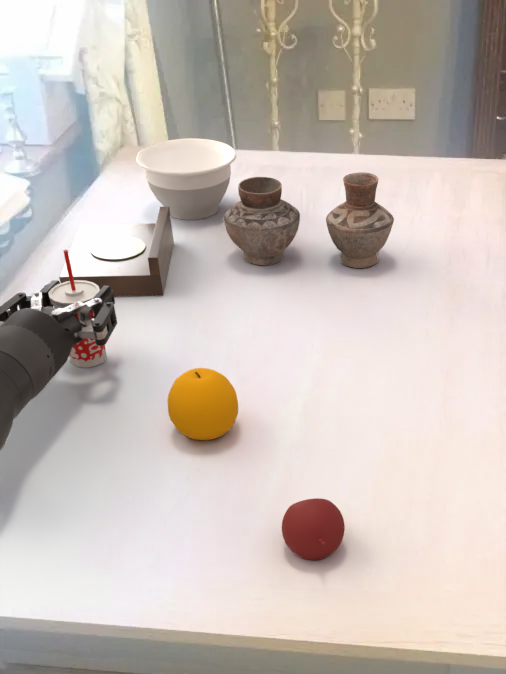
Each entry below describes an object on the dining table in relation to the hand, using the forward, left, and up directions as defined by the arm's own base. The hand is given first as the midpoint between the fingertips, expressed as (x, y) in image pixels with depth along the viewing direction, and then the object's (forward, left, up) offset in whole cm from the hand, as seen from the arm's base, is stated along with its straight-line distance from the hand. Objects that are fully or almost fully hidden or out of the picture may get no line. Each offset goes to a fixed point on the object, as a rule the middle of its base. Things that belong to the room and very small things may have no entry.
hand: (83, 290), depth 111 cm
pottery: (+28, +26, -8) cm, 39 cm away
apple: (+15, -19, -8) cm, 26 cm away
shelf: (0, +24, -8) cm, 25 cm away
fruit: (+27, -41, -8) cm, 50 cm away
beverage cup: (-1, -2, -8) cm, 9 cm away
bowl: (+9, +46, -8) cm, 47 cm away
